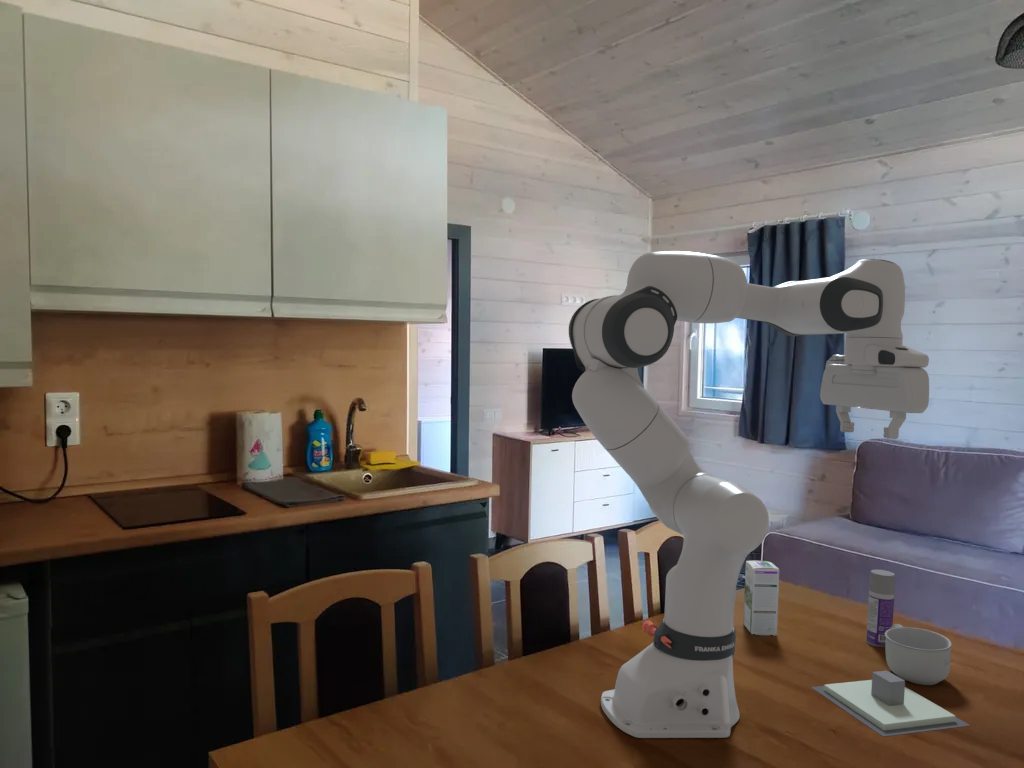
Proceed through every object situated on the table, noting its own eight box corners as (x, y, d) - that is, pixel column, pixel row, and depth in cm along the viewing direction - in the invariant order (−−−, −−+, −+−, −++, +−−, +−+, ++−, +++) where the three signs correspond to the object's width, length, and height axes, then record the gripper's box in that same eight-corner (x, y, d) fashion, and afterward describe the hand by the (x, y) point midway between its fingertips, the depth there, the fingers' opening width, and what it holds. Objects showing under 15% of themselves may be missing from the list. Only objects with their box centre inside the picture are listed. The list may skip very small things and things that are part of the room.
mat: (883, 739, 113) (883, 736, 113) (810, 689, 129) (810, 687, 129) (970, 727, 118) (970, 725, 118) (889, 681, 134) (890, 679, 134)
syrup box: (777, 636, 154) (781, 568, 153) (749, 635, 154) (753, 567, 154) (768, 626, 160) (772, 560, 159) (741, 625, 160) (744, 559, 159)
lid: (883, 730, 115) (885, 699, 115) (823, 690, 128) (825, 662, 128) (955, 721, 119) (957, 691, 118) (889, 683, 132) (891, 656, 132)
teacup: (958, 695, 129) (961, 651, 129) (892, 687, 131) (895, 644, 131) (930, 663, 143) (932, 623, 143) (870, 656, 145) (873, 617, 145)
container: (892, 642, 153) (896, 572, 152) (890, 650, 149) (894, 577, 148) (867, 637, 155) (871, 567, 155) (864, 644, 151) (868, 573, 151)
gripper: (813, 353, 134) (809, 428, 135) (909, 355, 115) (903, 442, 116) (840, 354, 137) (836, 428, 137) (938, 356, 117) (933, 442, 118)
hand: (868, 435), depth 126 cm, fingers open, 8 cm apart
